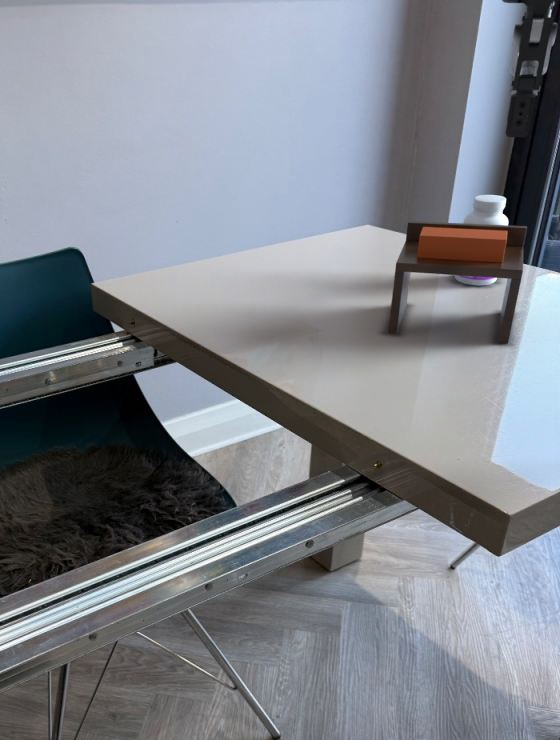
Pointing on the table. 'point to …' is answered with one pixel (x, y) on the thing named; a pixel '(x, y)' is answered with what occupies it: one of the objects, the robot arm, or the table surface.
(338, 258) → the table surface
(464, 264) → the shelf
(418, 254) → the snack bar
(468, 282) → the supplement bottle
